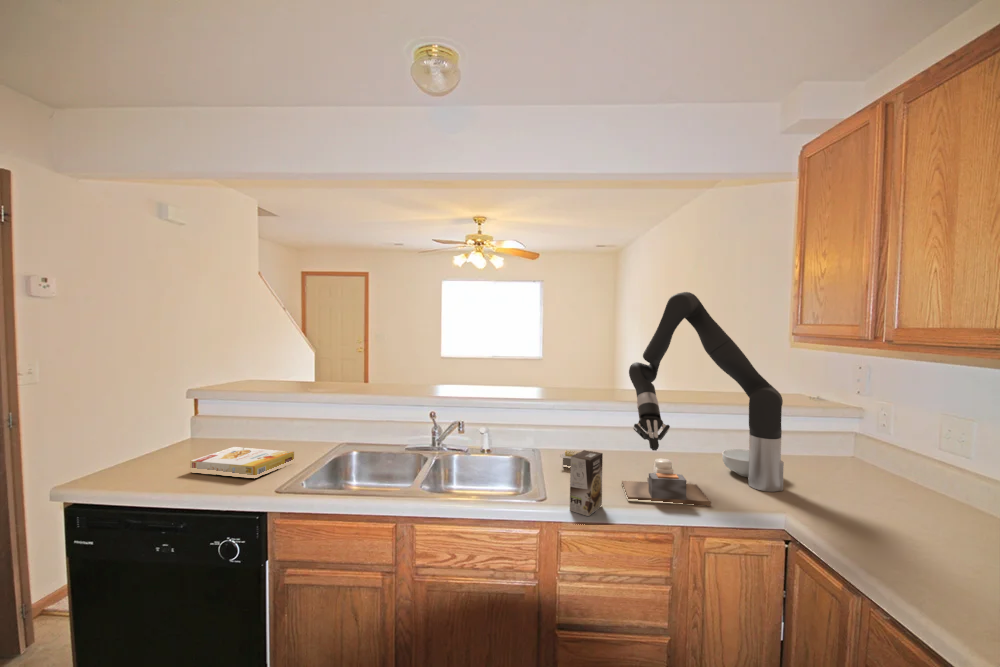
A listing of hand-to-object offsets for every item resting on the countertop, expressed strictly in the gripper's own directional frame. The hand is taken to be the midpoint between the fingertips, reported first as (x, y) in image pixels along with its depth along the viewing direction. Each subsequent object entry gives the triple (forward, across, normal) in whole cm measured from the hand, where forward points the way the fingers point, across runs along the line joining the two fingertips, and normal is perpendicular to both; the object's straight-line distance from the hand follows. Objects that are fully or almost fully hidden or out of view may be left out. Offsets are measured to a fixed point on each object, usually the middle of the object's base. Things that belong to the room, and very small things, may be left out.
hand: (654, 449), depth 157 cm
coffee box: (+27, -25, -11) cm, 39 cm away
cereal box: (+13, -149, +3) cm, 149 cm away
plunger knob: (+15, 0, -2) cm, 16 cm away
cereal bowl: (0, +35, +16) cm, 39 cm away
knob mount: (+17, 0, -2) cm, 17 cm away
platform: (+1, -27, +15) cm, 31 cm away
